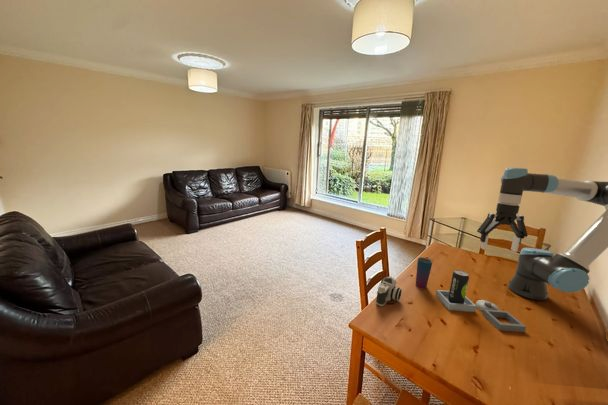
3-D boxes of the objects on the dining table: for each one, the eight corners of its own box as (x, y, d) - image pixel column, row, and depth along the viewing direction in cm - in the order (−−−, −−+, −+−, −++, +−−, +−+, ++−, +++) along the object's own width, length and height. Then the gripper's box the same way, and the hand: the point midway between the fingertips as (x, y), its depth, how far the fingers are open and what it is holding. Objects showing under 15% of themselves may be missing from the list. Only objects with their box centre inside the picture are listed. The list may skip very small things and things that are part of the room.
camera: (392, 311, 106) (395, 289, 104) (373, 303, 111) (375, 282, 109) (402, 295, 118) (405, 276, 117) (384, 289, 123) (387, 270, 121)
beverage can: (444, 300, 115) (450, 270, 113) (453, 298, 118) (459, 268, 115) (457, 307, 110) (463, 276, 107) (466, 305, 112) (472, 274, 109)
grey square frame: (491, 304, 115) (493, 298, 115) (524, 332, 97) (526, 325, 96) (469, 302, 116) (471, 296, 115) (498, 330, 97) (500, 323, 97)
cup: (429, 291, 123) (434, 263, 121) (415, 289, 125) (419, 261, 122) (425, 285, 130) (430, 258, 127) (412, 282, 131) (416, 256, 129)
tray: (459, 297, 120) (460, 291, 119) (475, 312, 108) (476, 306, 108) (435, 295, 120) (436, 289, 120) (448, 310, 109) (449, 303, 108)
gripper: (530, 203, 110) (519, 248, 114) (473, 200, 111) (465, 244, 115) (546, 207, 103) (534, 255, 107) (485, 203, 104) (475, 251, 108)
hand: (498, 250), depth 111 cm, fingers open, 13 cm apart
